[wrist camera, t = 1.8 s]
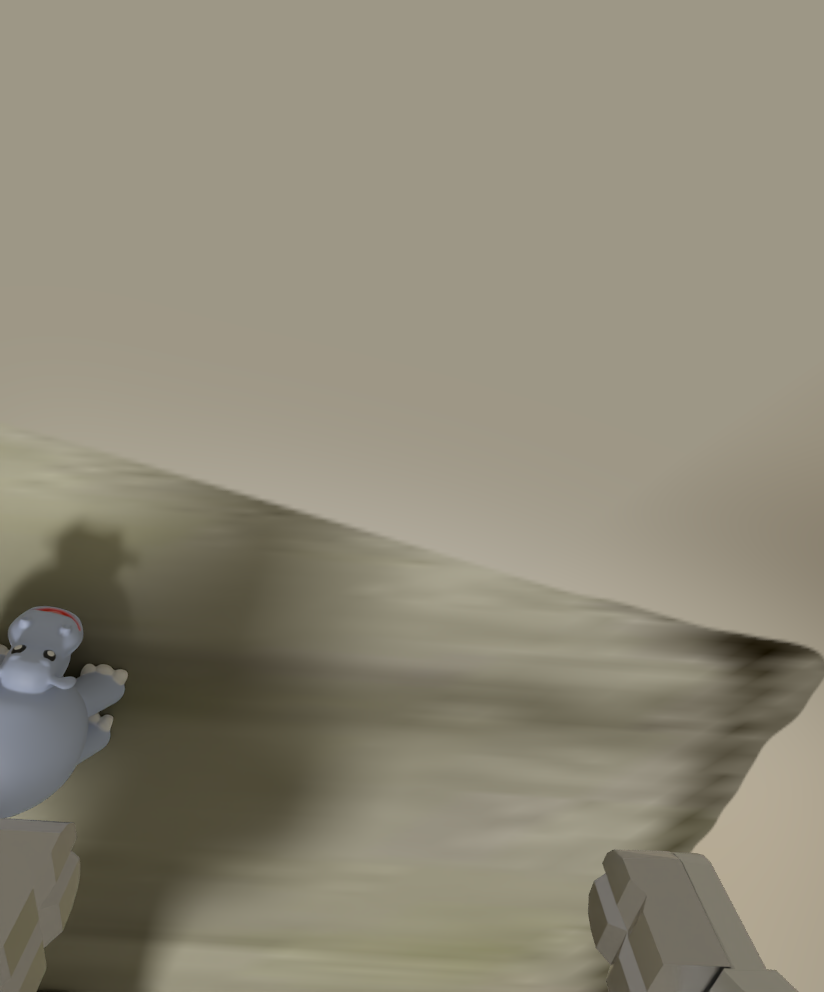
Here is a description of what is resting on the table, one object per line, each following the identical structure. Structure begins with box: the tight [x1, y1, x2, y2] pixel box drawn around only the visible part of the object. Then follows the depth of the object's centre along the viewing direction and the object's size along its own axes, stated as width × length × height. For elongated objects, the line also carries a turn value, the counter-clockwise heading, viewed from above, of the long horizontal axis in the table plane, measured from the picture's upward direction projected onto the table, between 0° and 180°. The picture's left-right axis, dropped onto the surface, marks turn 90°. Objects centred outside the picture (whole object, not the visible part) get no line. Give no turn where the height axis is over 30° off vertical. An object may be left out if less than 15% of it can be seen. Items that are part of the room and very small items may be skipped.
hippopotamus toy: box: [0, 606, 128, 818], centre depth 40 cm, size 11×15×10 cm
